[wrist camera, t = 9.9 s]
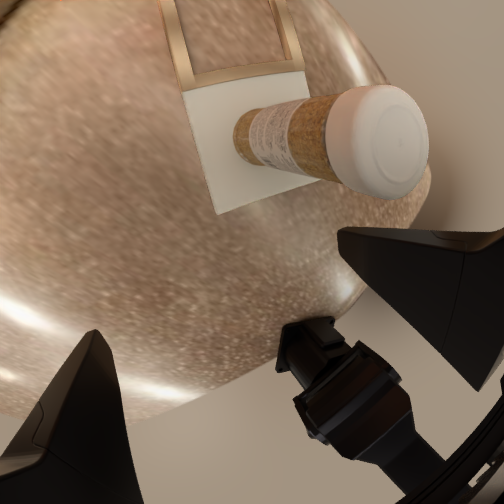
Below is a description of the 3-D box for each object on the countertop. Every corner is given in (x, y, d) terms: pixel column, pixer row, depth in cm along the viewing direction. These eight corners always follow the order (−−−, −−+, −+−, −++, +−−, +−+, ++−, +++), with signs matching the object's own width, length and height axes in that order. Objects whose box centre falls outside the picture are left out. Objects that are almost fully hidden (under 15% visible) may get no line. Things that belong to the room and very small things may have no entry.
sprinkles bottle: (296, 133, 22) (443, 144, 10) (263, 177, 22) (400, 225, 10) (254, 96, 19) (394, 60, 8) (217, 142, 20) (334, 145, 8)
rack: (299, 72, 20) (345, 57, 15) (181, 93, 18) (197, 74, 13) (270, -22, 16) (306, -53, 11) (154, -12, 13) (163, -54, 8)
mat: (322, 177, 24) (326, 178, 24) (215, 213, 22) (217, 215, 22) (298, 67, 20) (302, 66, 20) (179, 88, 18) (181, 86, 17)
